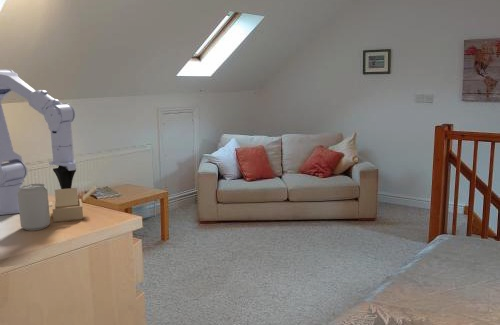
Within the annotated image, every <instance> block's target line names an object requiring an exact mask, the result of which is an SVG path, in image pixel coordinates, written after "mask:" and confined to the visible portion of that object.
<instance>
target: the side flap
mask: <svg viewBox="0 0 500 325" xmlns="http://www.w3.org/2000/svg"><path fill="white" fill-rule="evenodd" d="M96 191H97V187H96V185H93V186H92V187H91V188H90V189H89V190H88V191H87V192H86V193H85V194H84V195H83V196H82V201H83V202H84V201H86V200H87V199H88V198H89V197H90V196H91V195H92V194H93V193H95V192H96Z"/></svg>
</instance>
